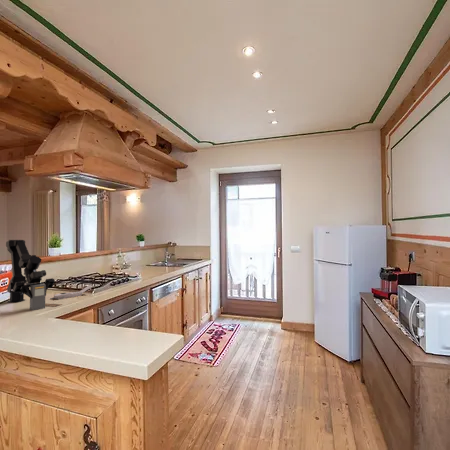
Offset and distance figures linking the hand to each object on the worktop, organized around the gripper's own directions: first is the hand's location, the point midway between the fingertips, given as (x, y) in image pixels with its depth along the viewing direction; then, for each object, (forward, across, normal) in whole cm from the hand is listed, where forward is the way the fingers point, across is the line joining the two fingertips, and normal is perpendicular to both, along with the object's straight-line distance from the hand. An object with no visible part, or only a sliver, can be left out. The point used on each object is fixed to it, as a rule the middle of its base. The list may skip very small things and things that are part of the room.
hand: (38, 296), depth 147 cm
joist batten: (+2, +8, +8) cm, 11 cm away
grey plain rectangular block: (+4, 0, +6) cm, 7 cm away
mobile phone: (-9, +27, +19) cm, 34 cm away
